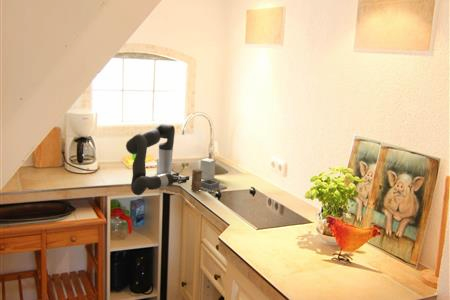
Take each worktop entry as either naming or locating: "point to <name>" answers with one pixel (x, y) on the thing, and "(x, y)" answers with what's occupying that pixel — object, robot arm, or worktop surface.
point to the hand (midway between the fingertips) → (183, 176)
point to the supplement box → (207, 168)
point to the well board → (211, 185)
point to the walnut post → (196, 180)
